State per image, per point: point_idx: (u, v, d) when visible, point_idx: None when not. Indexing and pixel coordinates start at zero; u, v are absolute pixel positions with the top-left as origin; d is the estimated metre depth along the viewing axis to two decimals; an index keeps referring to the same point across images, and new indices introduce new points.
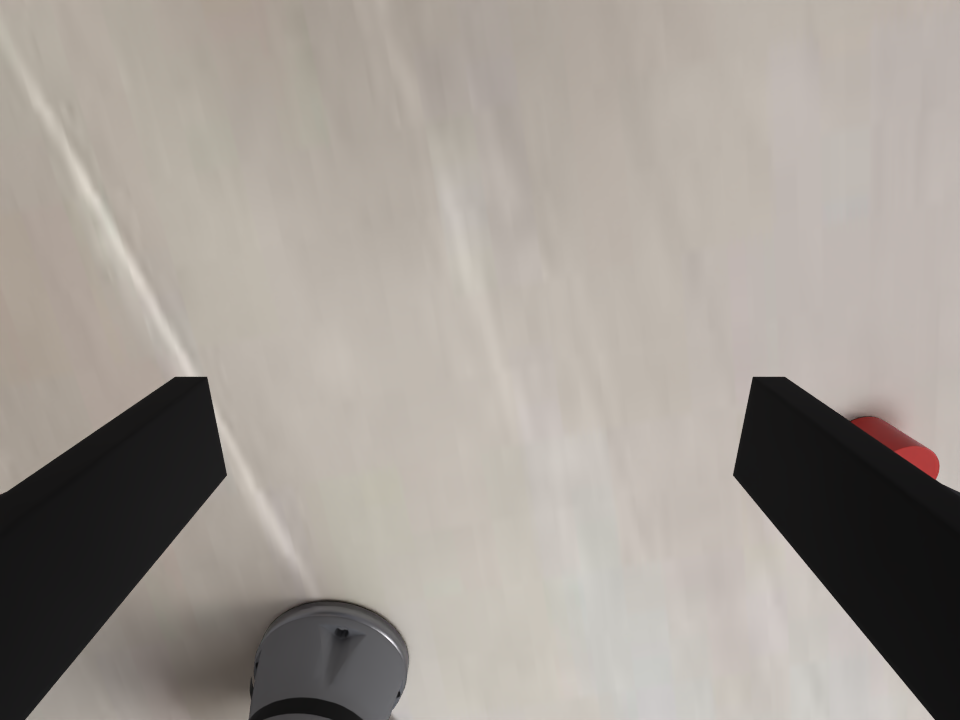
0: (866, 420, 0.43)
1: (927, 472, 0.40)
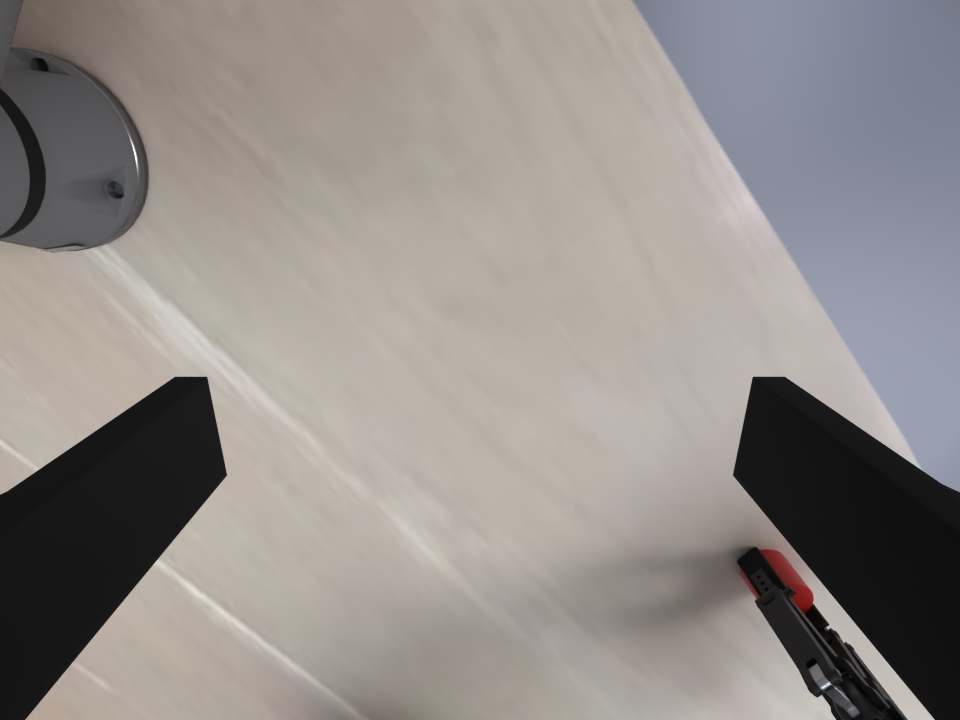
0: None
1: (804, 596, 0.53)
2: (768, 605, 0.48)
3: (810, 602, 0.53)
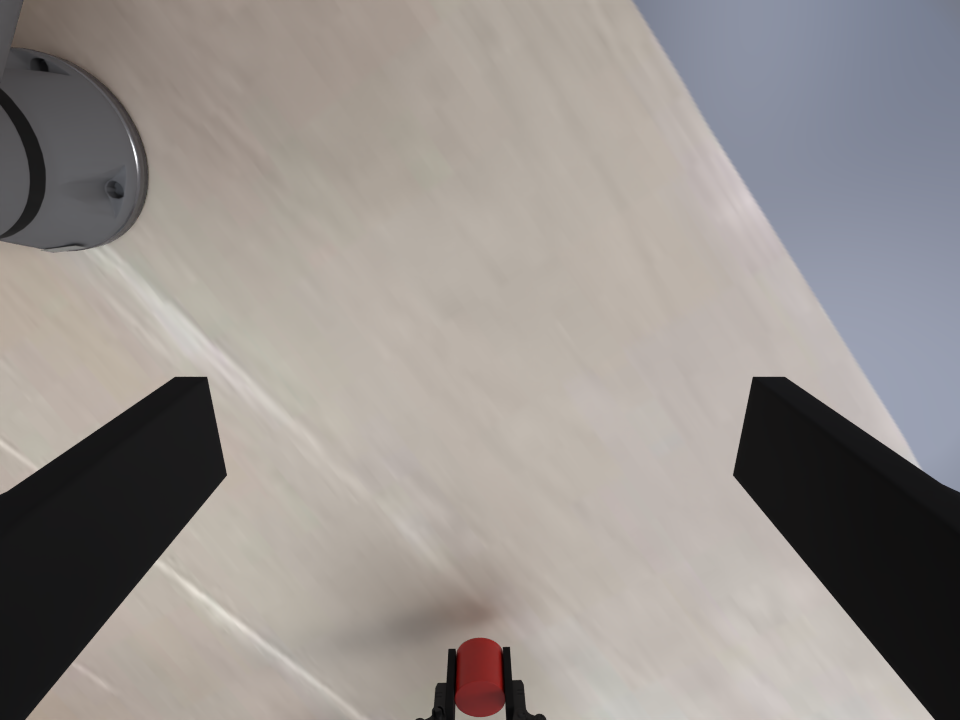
0: (456, 656, 0.55)
1: (485, 688, 0.50)
2: None
3: (496, 687, 0.50)
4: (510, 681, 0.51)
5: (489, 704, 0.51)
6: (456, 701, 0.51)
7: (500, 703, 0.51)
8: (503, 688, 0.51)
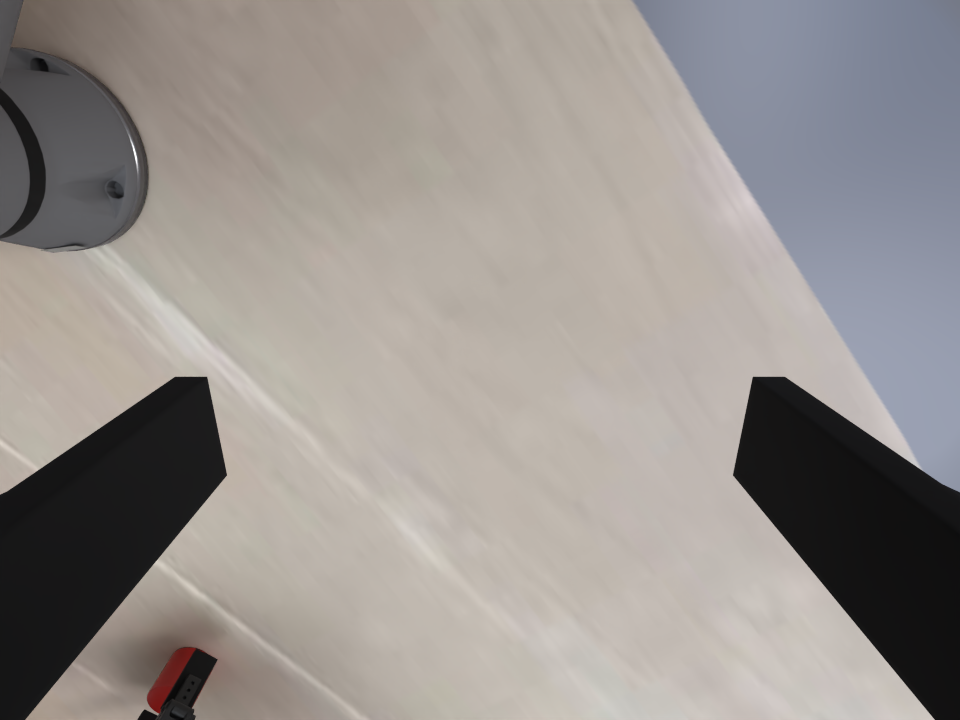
0: None
1: (159, 693, 0.58)
2: None
3: (164, 687, 0.58)
4: (176, 682, 0.54)
5: None
6: None
7: None
8: (173, 683, 0.58)
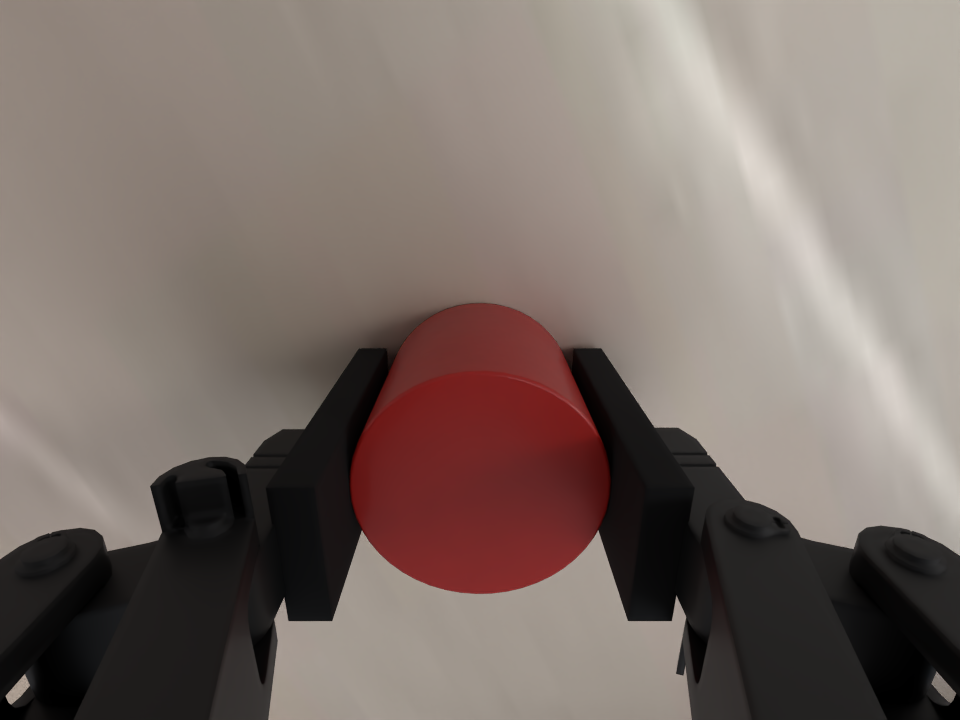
0: None
1: (434, 428, 0.09)
2: None
3: (473, 386, 0.09)
4: None
5: (540, 483, 0.10)
6: (415, 572, 0.11)
7: (577, 440, 0.10)
8: (523, 371, 0.09)
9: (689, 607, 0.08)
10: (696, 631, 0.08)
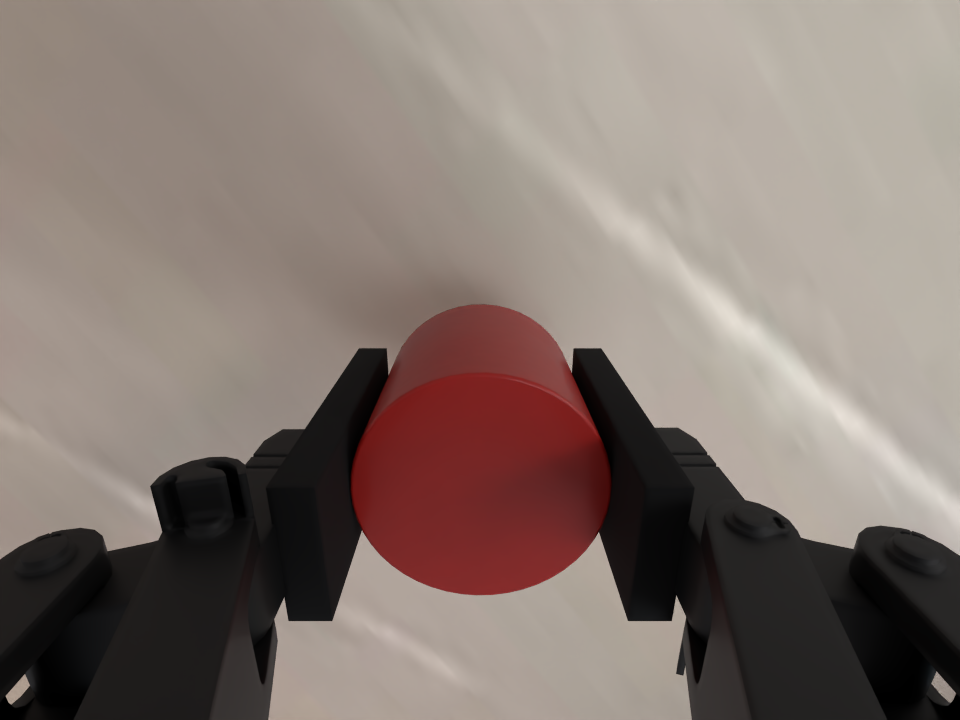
0: None
1: (435, 430, 0.09)
2: None
3: (474, 388, 0.09)
4: None
5: (541, 485, 0.10)
6: (416, 573, 0.11)
7: (577, 442, 0.10)
8: (524, 372, 0.09)
9: (689, 607, 0.08)
10: (695, 631, 0.08)
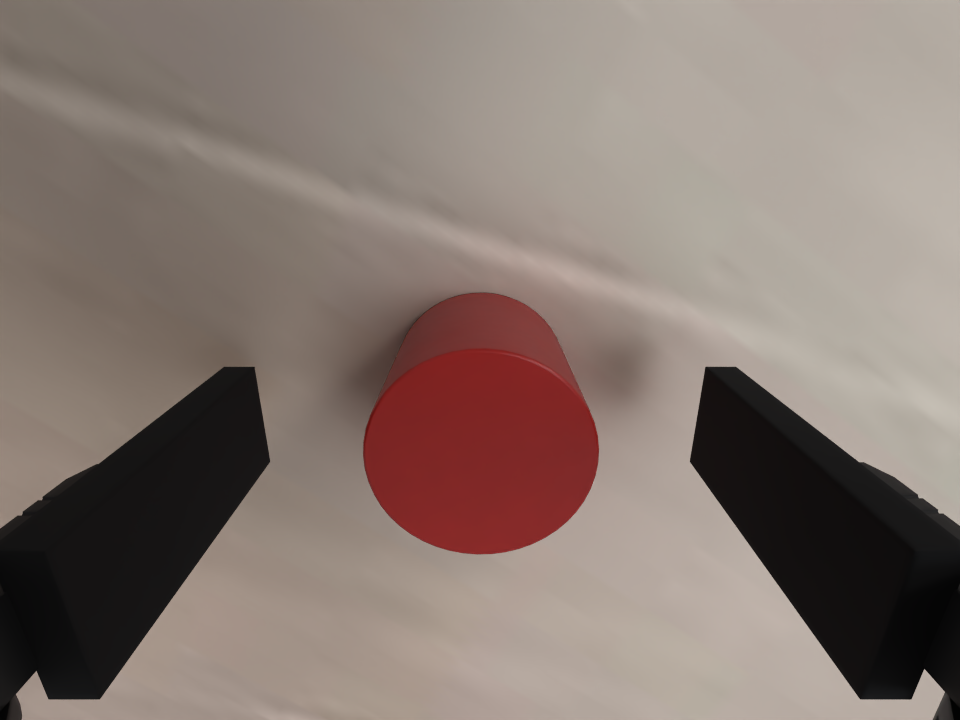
0: None
1: (440, 401, 0.11)
2: None
3: (475, 362, 0.10)
4: None
5: (535, 451, 0.11)
6: (422, 534, 0.12)
7: (567, 412, 0.11)
8: (519, 349, 0.11)
9: (955, 679, 0.07)
10: None
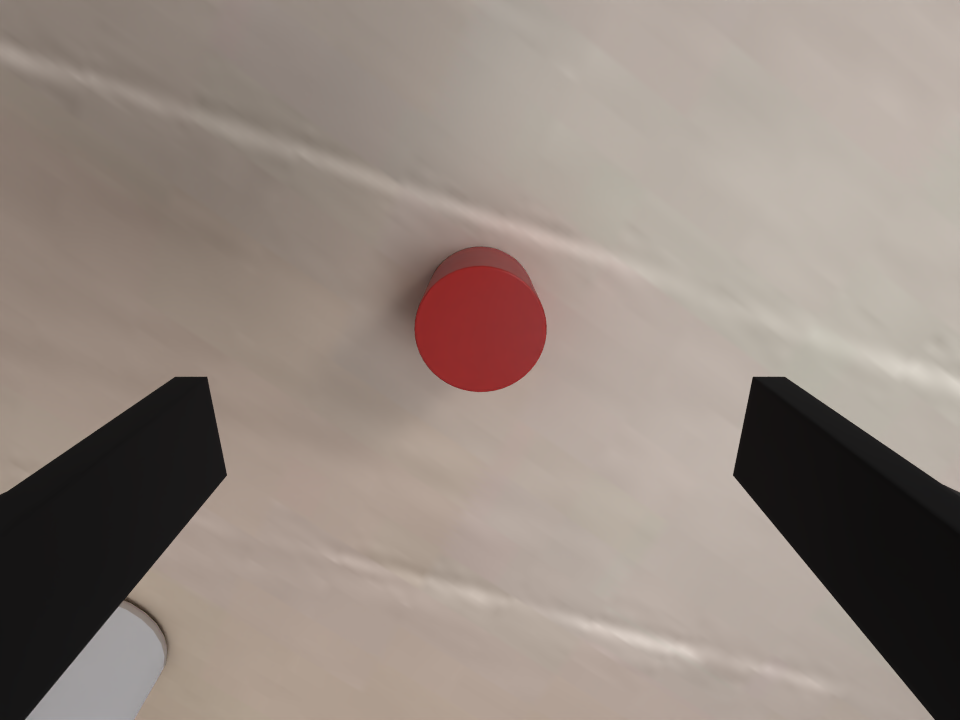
0: None
1: (458, 296, 0.19)
2: None
3: (477, 273, 0.19)
4: None
5: (511, 326, 0.20)
6: (446, 378, 0.20)
7: (528, 302, 0.19)
8: (501, 267, 0.19)
9: None
10: None
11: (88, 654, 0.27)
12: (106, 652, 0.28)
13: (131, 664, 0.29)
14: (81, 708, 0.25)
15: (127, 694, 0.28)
